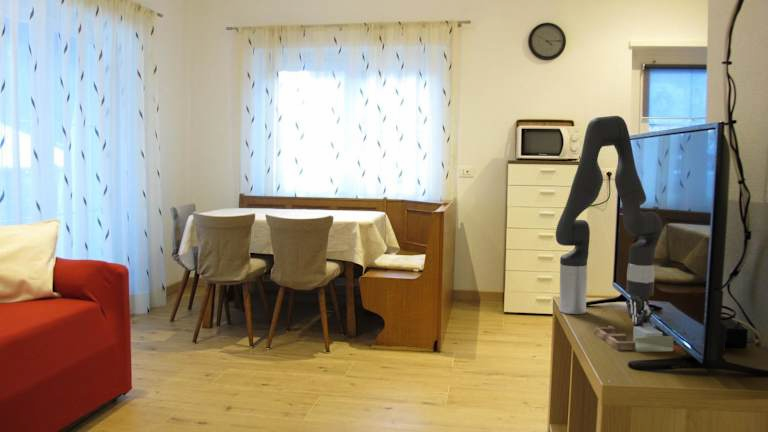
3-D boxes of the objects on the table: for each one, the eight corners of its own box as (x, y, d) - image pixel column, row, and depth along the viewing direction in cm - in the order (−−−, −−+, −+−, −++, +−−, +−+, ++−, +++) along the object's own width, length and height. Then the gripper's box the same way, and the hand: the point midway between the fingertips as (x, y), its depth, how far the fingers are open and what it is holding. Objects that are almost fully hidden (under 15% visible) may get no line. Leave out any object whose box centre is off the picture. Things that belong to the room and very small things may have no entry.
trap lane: (592, 332, 187) (592, 319, 187) (640, 331, 188) (640, 319, 188) (619, 351, 167) (619, 338, 167) (673, 351, 168) (673, 337, 168)
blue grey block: (633, 343, 176) (633, 326, 175) (649, 342, 176) (649, 326, 176) (645, 350, 169) (645, 333, 168) (662, 349, 169) (662, 332, 169)
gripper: (618, 274, 183) (616, 328, 185) (638, 283, 170) (635, 342, 172) (642, 273, 183) (639, 328, 185) (663, 283, 170) (660, 342, 172)
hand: (637, 335), depth 178 cm, fingers closed
